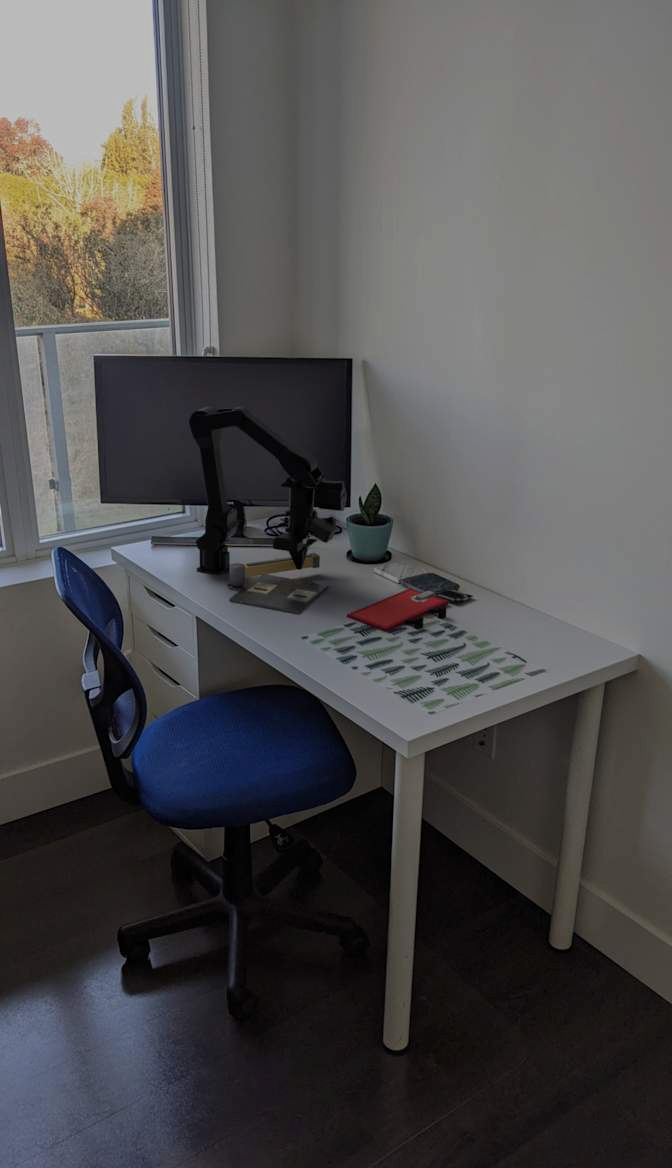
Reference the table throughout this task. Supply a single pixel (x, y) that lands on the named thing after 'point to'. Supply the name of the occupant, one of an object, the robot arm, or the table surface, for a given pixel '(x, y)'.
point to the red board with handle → (406, 608)
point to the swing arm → (268, 568)
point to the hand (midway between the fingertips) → (299, 569)
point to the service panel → (278, 593)
